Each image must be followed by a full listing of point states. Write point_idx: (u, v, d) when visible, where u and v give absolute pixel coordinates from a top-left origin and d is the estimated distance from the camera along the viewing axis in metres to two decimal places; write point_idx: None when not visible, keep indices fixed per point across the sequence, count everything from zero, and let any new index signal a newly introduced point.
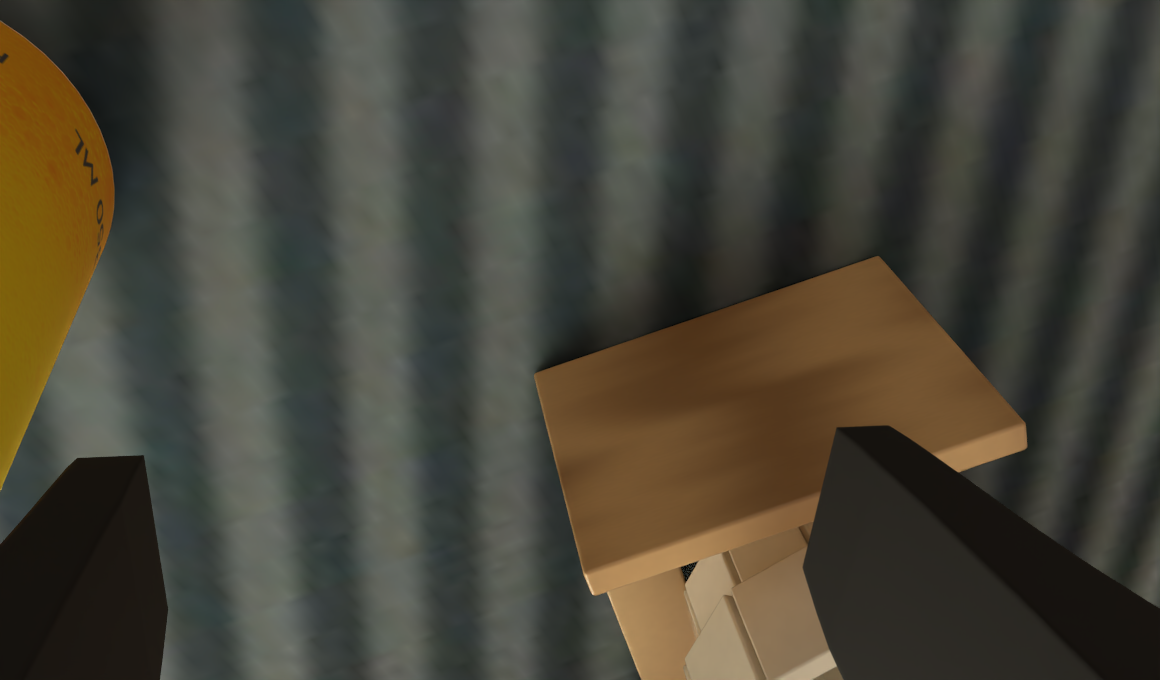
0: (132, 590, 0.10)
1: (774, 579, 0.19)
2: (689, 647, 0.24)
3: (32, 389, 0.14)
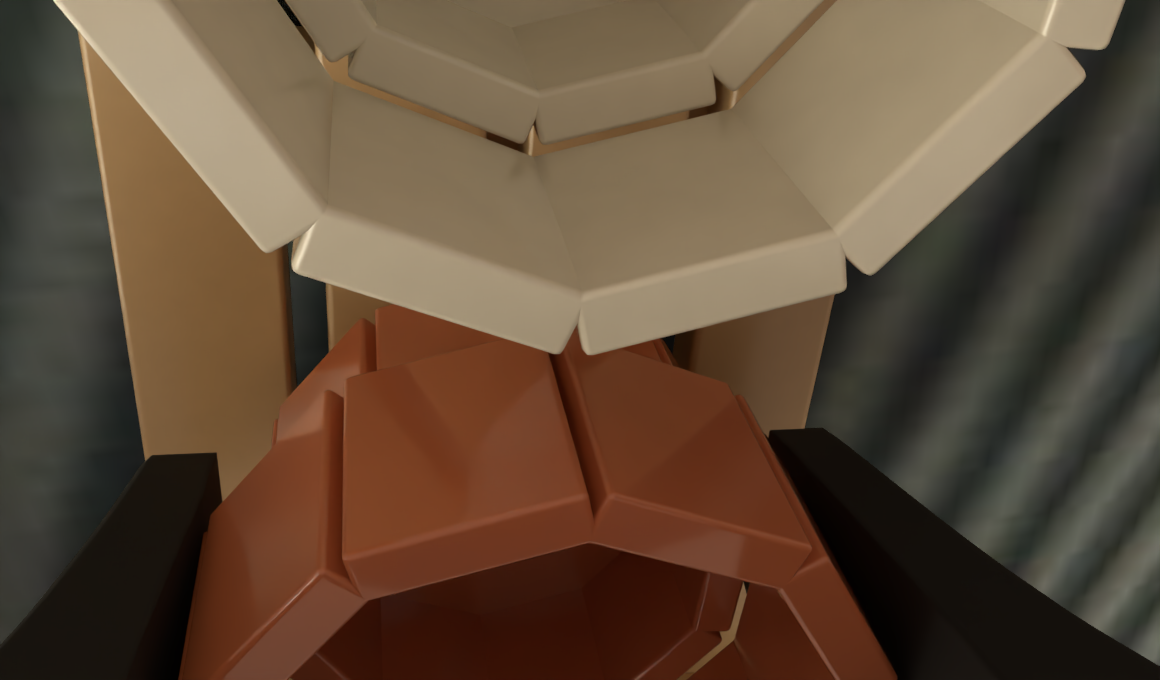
0: None
1: None
2: None
3: None
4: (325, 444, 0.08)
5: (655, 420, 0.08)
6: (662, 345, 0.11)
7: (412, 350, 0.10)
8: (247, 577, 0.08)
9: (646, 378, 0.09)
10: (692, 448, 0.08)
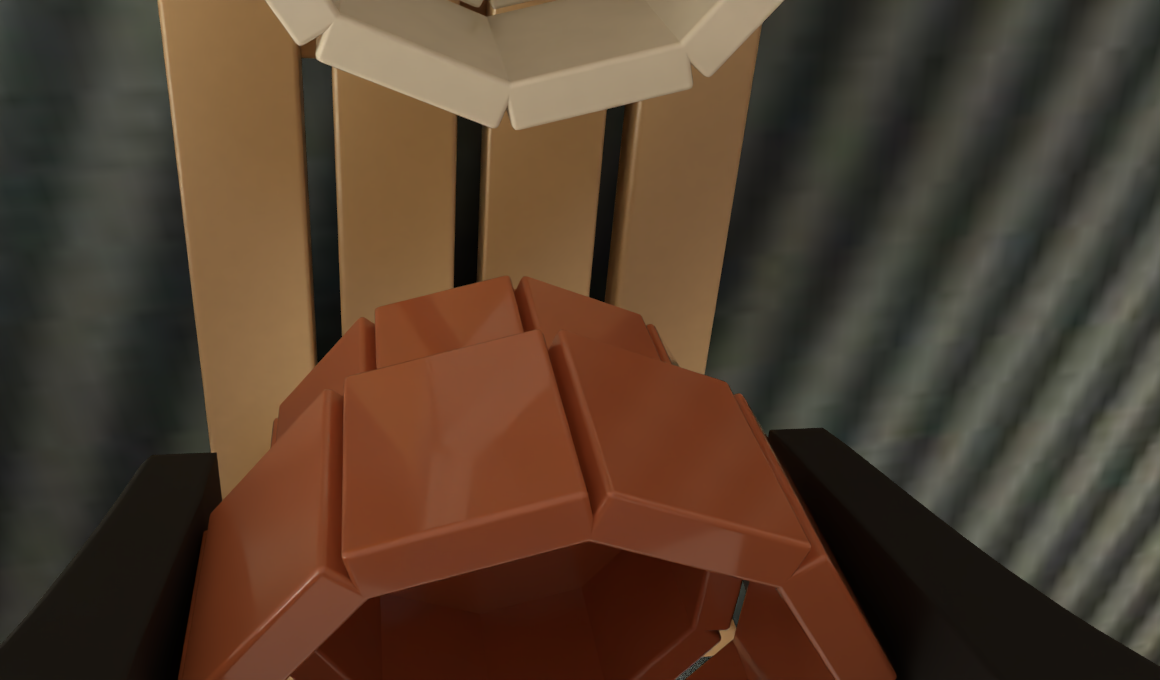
0: None
1: None
2: None
3: None
4: (325, 443, 0.08)
5: (655, 419, 0.09)
6: (662, 344, 0.11)
7: (412, 349, 0.10)
8: (246, 575, 0.08)
9: (646, 377, 0.09)
10: (691, 447, 0.08)
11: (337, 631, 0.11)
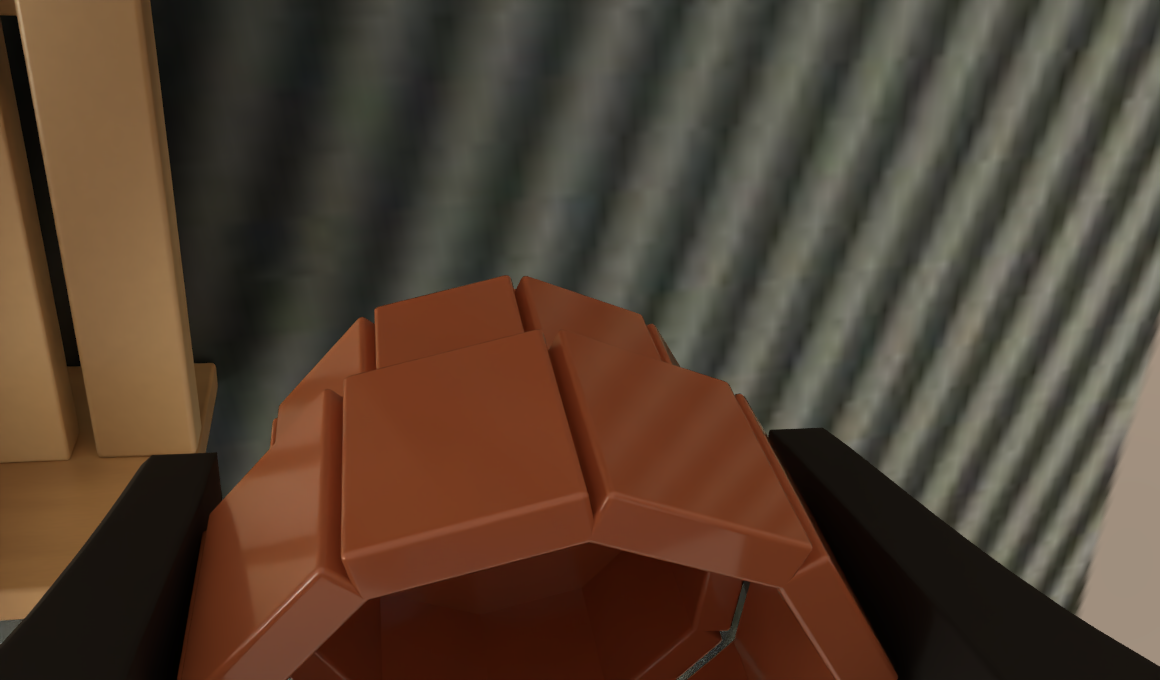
0: None
1: None
2: None
3: None
4: (324, 443, 0.08)
5: (655, 419, 0.08)
6: (662, 344, 0.11)
7: (412, 349, 0.10)
8: (246, 576, 0.08)
9: (646, 377, 0.09)
10: (692, 447, 0.08)
11: (336, 632, 0.11)
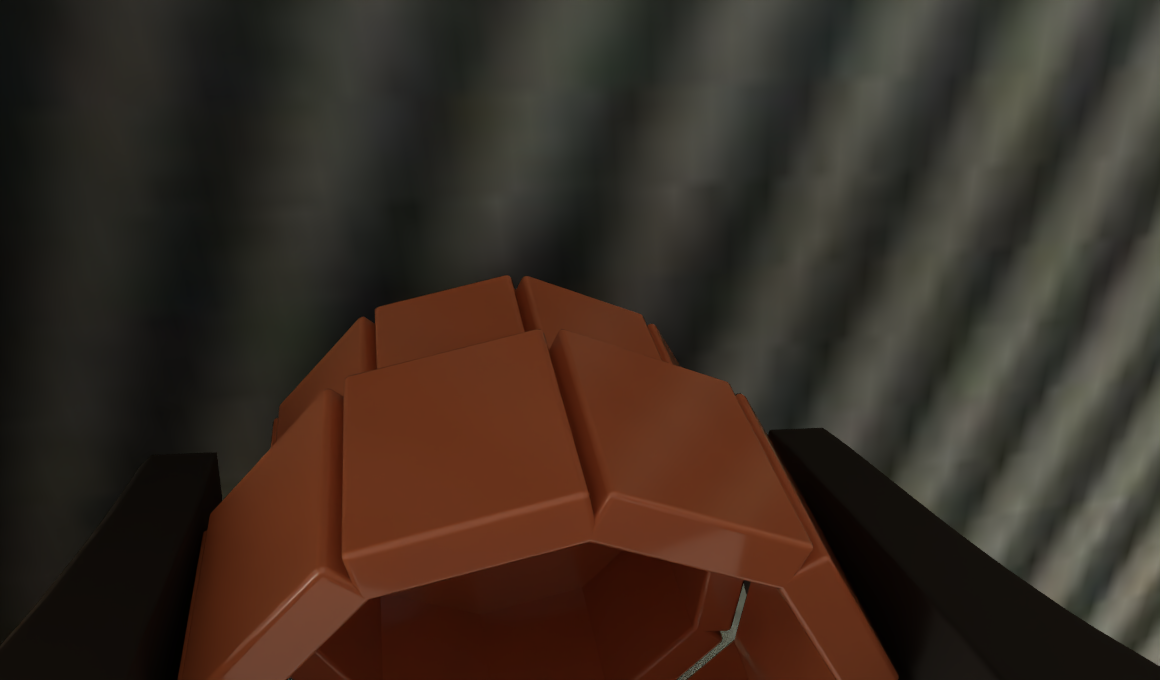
0: None
1: None
2: None
3: None
4: (325, 443, 0.08)
5: (656, 419, 0.08)
6: (663, 344, 0.11)
7: (412, 349, 0.10)
8: (246, 576, 0.08)
9: (647, 377, 0.09)
10: (693, 447, 0.08)
11: (337, 632, 0.11)
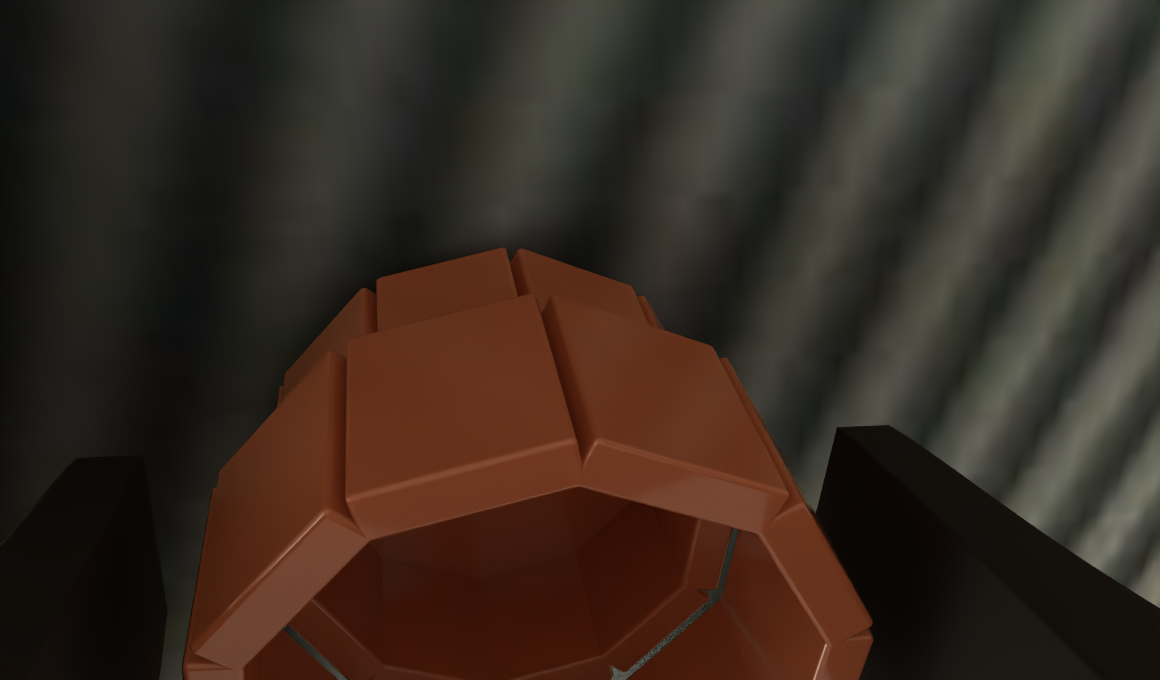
0: (131, 590, 0.10)
1: None
2: None
3: None
4: (329, 399, 0.09)
5: (641, 376, 0.09)
6: (652, 314, 0.12)
7: (412, 316, 0.11)
8: (255, 523, 0.09)
9: (634, 339, 0.10)
10: (676, 402, 0.09)
11: (340, 590, 0.12)
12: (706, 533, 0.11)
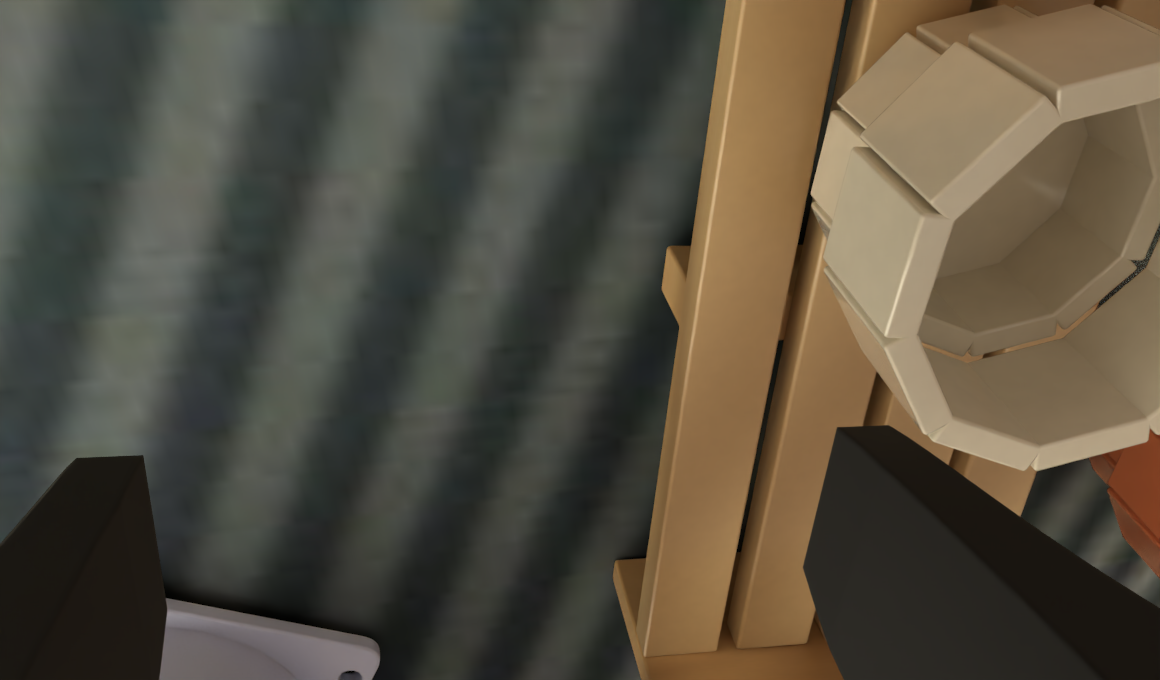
0: (131, 590, 0.10)
1: (1041, 24, 0.14)
2: (780, 230, 0.18)
3: None
4: None
5: None
6: None
7: None
8: None
9: None
10: None
11: None
12: None
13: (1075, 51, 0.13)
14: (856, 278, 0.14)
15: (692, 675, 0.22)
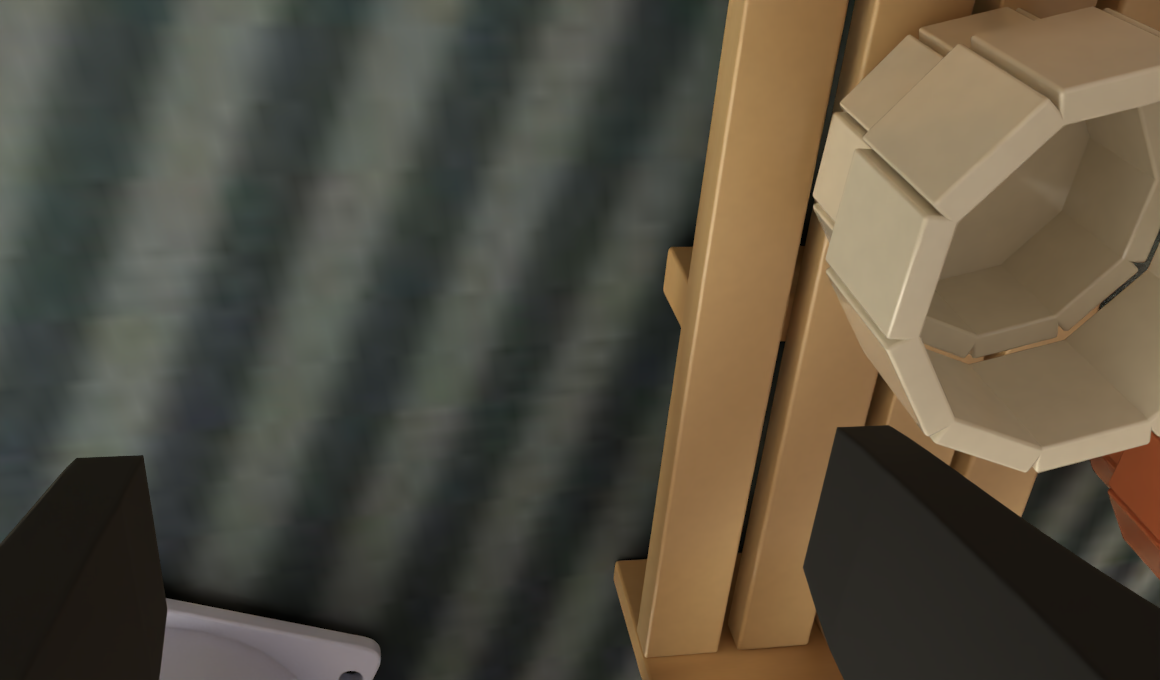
0: (131, 590, 0.10)
1: (1043, 26, 0.14)
2: (782, 231, 0.18)
3: None
4: None
5: None
6: None
7: None
8: None
9: None
10: None
11: None
12: None
13: (1078, 53, 0.13)
14: (858, 280, 0.14)
15: (693, 676, 0.22)
